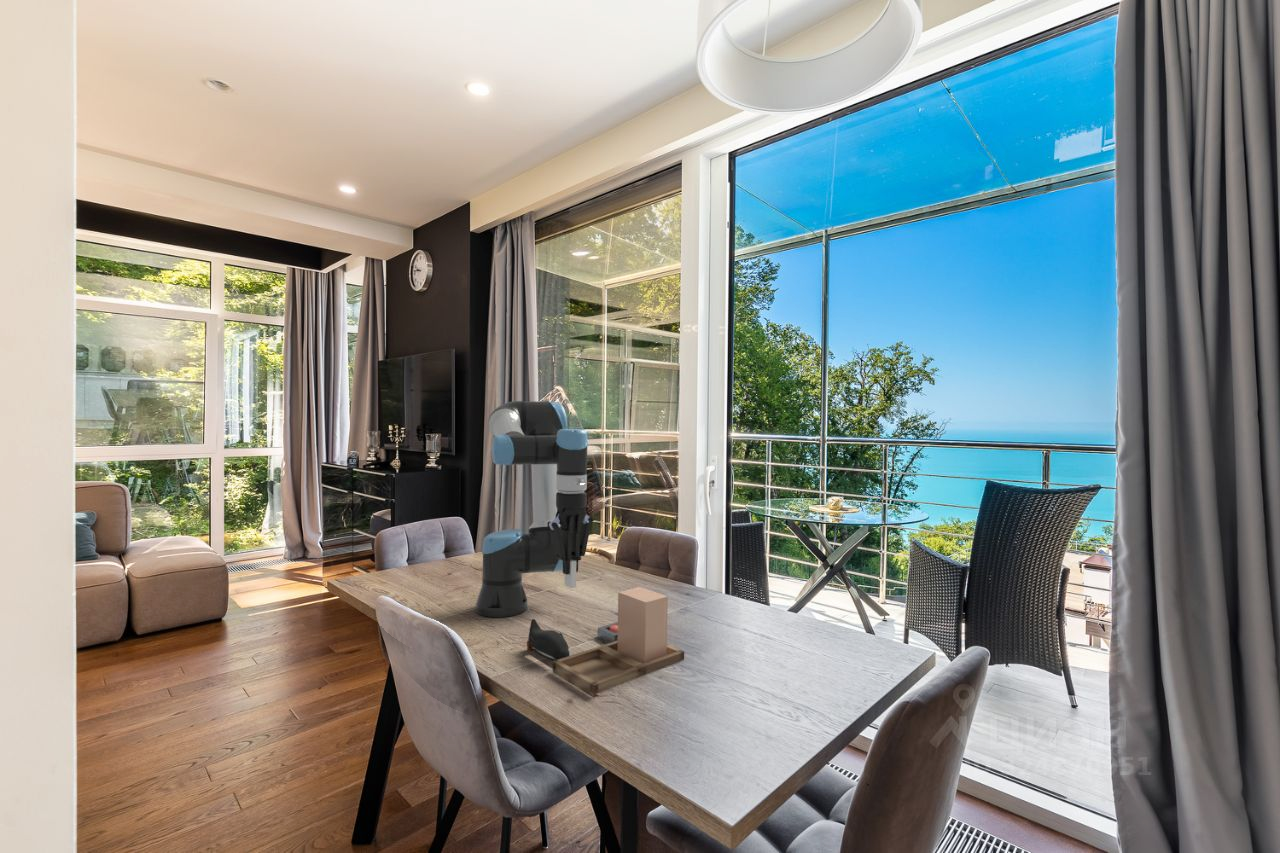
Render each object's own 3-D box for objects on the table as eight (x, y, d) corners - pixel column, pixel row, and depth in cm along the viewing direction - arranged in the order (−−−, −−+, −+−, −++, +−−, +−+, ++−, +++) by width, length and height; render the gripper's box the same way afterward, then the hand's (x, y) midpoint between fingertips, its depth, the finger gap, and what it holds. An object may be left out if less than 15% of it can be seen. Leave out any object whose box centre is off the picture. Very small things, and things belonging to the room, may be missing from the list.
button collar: (597, 640, 151) (597, 627, 151) (618, 633, 156) (618, 621, 156) (614, 648, 146) (614, 635, 146) (635, 641, 150) (635, 629, 150)
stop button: (606, 638, 151) (606, 627, 151) (617, 635, 153) (617, 624, 153) (615, 642, 148) (615, 631, 148) (626, 639, 151) (626, 627, 151)
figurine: (520, 663, 142) (554, 672, 131) (517, 621, 144) (550, 627, 133) (546, 655, 147) (580, 663, 136) (542, 615, 149) (576, 620, 138)
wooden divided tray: (552, 672, 132) (552, 661, 132) (641, 643, 149) (641, 633, 149) (593, 697, 120) (593, 685, 120) (684, 662, 138) (684, 651, 138)
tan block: (617, 653, 141) (618, 592, 140) (639, 646, 145) (639, 586, 145) (644, 667, 133) (645, 602, 133) (666, 659, 138) (667, 596, 138)
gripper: (559, 495, 136) (557, 595, 136) (601, 490, 145) (600, 584, 145) (540, 491, 141) (539, 588, 141) (582, 487, 150) (581, 578, 151)
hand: (570, 586), depth 143 cm, fingers closed
